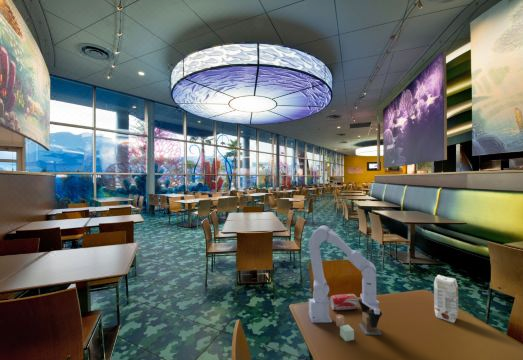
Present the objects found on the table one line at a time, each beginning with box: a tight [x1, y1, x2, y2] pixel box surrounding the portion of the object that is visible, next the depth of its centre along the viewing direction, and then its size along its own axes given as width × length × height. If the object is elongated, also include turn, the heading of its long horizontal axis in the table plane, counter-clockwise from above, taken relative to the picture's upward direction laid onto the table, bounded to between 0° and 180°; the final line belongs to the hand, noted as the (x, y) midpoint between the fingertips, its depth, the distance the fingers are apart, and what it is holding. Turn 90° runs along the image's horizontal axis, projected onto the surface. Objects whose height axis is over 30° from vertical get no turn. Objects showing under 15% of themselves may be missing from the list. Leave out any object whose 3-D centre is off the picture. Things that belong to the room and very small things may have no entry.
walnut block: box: [361, 311, 378, 332], centre depth 105 cm, size 4×4×6 cm
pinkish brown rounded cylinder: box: [335, 313, 345, 329], centre depth 108 cm, size 4×4×4 cm
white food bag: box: [433, 274, 459, 324], centre depth 114 cm, size 8×9×19 cm
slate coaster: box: [358, 323, 383, 336], centre depth 105 cm, size 7×7×1 cm
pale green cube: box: [339, 324, 355, 342], centre depth 100 cm, size 4×4×4 cm
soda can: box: [329, 293, 359, 311], centre depth 123 cm, size 7×7×13 cm
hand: (369, 321), depth 105 cm, fingers open, 7 cm apart
